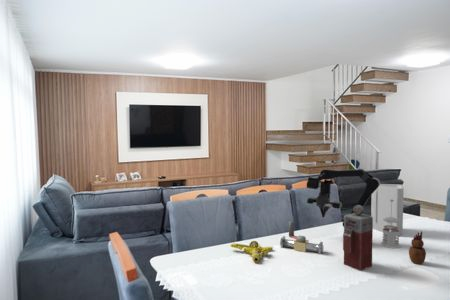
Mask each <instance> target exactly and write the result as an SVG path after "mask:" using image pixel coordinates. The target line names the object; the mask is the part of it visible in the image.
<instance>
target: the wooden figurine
mask: <svg viewBox="0 0 450 300" xmlns="http://www.w3.org/2000/svg"><path fill="white" fill-rule="evenodd" d="M422 231H423V230H421V231H420V232H419V231H418V232H417V234H415V235H414V236H413V239H411V243H410V245H411V246H410V247H409V248H408V257H409V260H410V261H411V262H412V263H414V264H416V265H423V264H424V262H425V260H426V255H427V253H426V252H427V251H426V249H425V248H424V246H425V245H424V241H423V232H422Z"/></svg>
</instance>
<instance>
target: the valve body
mask: <svg viewBox="0 0 450 300" xmlns="http://www.w3.org/2000/svg"><path fill="white" fill-rule="evenodd" d="M279 244H280V245H279V246H280V248H284V247H285V248H290V249H293V250H294V251H297V252H304V253H306V252H307V251H308V252H314V253H318V254H319V255H321V254H323V253H324V244H323V241H320V242H319V243H312V242H309V239H306V241H305V242H299V241H297V240H296V239H287V238H286V236H284V235H283V236H282V237H281V238H280V241H279Z"/></svg>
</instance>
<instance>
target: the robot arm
mask: <svg viewBox="0 0 450 300" xmlns="http://www.w3.org/2000/svg"><path fill="white" fill-rule="evenodd" d="M349 177H351V178H352V177H359V178H360V179H361V180H362V181H363V183H365V184H366V185H365V188H364V191H363V193H362V195H361V196H360V198H359V199H358V201H357V203H356V204H355V206H357V205H361V206H362V207H363V208H364V207H365V205H366V203H367V202H368V200H369V198H370V197H372V193H373V192H374V191H375V190H376V189H377V188H378V187H379V186H380V184H381V181H380V179H379V178H377V177H374V176H373V175H371V174H370V173H369V172H367V171H366V170H365V169H364V168H359V169H357V168H356V169H333V168H325V169H322V170H321V171H320V172H319V176H318V177H314V176H308V178H307V181H306V188H307V189H309V190H310V189H312V190H318V189H319V192H318V196H317V197H313V196H311V197H308V198H307V200H306V201H307V202H306V203H307V204H314V203H315V205H316V206H317V207H318V208H319V209H320V213H321V216H322V217H321V218H325V217H326V215H327V212H328V211H329V210H330V208H331V207H332V208H333V209H337V210H338V209H341V208H342V207H343V203H342V202H341V201H338V200H337V201H336V200H335V201H331V194H332V192H331V187H332V185H334V184H336V183H335V181H334V180H333V179H335V178H349ZM352 213H354V211H353V210H352V211H351V212H347V213H346V214H345V215H348V214H352ZM341 221H342V227H343V228H344V218H343V219H342V220H341Z"/></svg>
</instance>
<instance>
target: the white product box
mask: <svg viewBox="0 0 450 300" xmlns="http://www.w3.org/2000/svg"><path fill="white" fill-rule="evenodd" d="M390 199H393V201H394V202H392V215H391V202H390ZM370 206H371V214H370V216H372V217H373V230H376V231H379V232H382V233H383V229H384V226H385V225H388V222H386V221H384V220H383V218H385V217H394V218H397V219H398V220H399V222H398V223H392V226H396V227H398V229H397V230H399V235H398V236H399V237H401V236H403V235H404V234H403V230H404V228H403V227H404V224H403V223H404V185H403V184H400V183H399V184H396V183H395V184H394V183H393V184H392V183H390V184H389V183H380V186H379V187H378V188H377V189H376V190H375V191H374V192H373V193H372V194H371V205H370ZM389 225H390V226H391V222H389ZM389 232H391V230H389Z"/></svg>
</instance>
